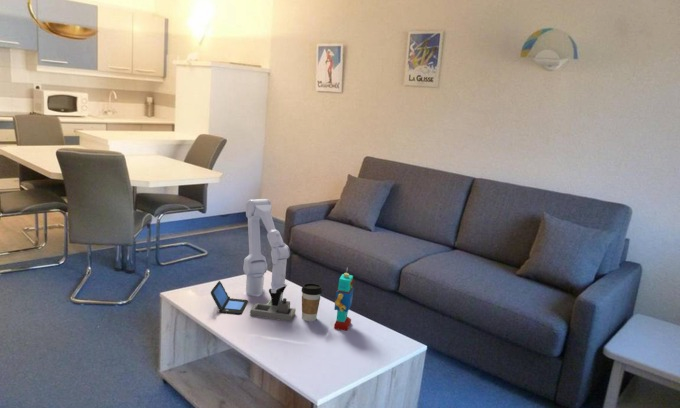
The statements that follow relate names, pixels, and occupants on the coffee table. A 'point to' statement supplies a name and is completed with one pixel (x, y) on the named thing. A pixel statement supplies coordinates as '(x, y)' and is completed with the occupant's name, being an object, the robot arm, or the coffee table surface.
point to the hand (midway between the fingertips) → (276, 303)
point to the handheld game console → (227, 301)
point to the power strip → (271, 312)
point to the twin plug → (284, 306)
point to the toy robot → (343, 301)
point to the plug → (279, 298)
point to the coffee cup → (310, 301)
